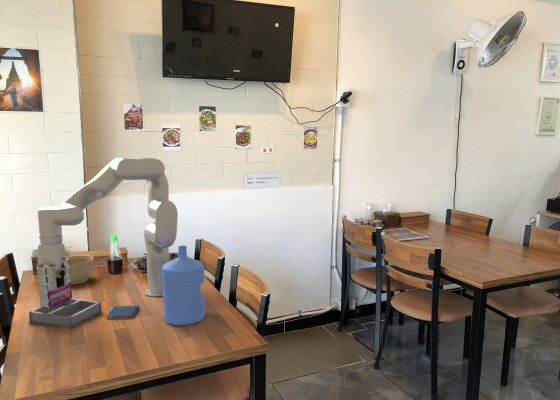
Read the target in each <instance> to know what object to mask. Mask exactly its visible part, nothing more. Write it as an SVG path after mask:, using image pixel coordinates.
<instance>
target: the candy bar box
mask: <svg viewBox="0 0 560 400" xmlns="http://www.w3.org/2000/svg"><path fill="white" fill-rule="evenodd" d="M67 264H68V266H69V259H67ZM60 273H61V270H60ZM36 274H37V275H36V276H37V286H38V295H39V307H44V308H52V307H54V306H56V305H58V304H61V303H63V302H65V301H67V300H69V299H71V298H73V291H72V285H71V279H70V270H69V271H68V272H67V273H66V274H65V276H64V282H65V285H64V286H62V287H60V288H57V282H56V278H57V274H56V271H53V270H52V265H50V264H40V265H38V264H36Z"/></svg>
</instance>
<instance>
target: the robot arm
mask: <svg viewBox="0 0 560 400" xmlns="http://www.w3.org/2000/svg"><path fill="white" fill-rule="evenodd" d="M165 170H166V167H165V164H164V162H163V161H162V160H160V159H158V158H154V157H142V158H124V157H117V158H115V159H113V160H111V161H110V162H109V163H108V164H107V165H106V166H105V167H104V168H103V169H102V170H101V171H99V173H98V174H96V175H95V176H94V178H92V179H91V180H90V181H88V182H87V183H86V184H84V185H83V186H82V187H81V188H79V189H78V190H76V191H75V192H74V193H72V194H71V196H69V197H68V198H67V199H66V200H65V201H64V202H63V203H62V204H61V205H60V206H59V207H57V206H48V207H47V206H45V207H42V208H39V209H38V211H37V220H38V233H39V237H38V239H39V243H38V247H37V265H40V264H50V265H52V270H53V271H56V274H57V278H56V282H57V288H60V287H62V286H64V285H65V282H64V276H65V274H66V273H67V272H68V271H69V270H70V267H69V266H68V264H67V257H68V256H67V251H66V247H65V244H64V240H63V227H62V226H71V227H72V226H74V227H75V226H78V225H79V224H82V222H83V221H84V219H85V213H84V211H85V209H86V208H88V206H90V205H92V204H93V203H95V202H96V201H99V200H103V199H104V198H106V197H108V196H110V194H111V193H112V192H113V191H114V190H115V189H116V188H117V187H118V186H119V185H120V184H122V183H123V181H124V180H125V181H142V180H143V181H146V184H147V188H148V191H147V192H148V195H147V214H148V216H149V217H150V218H152V219H154V220H155V221H154V222H150V223H149V224H148V225H146V227H145V229H144V232H143V238H144V244H145V248H146V249H145V250H146V269H147V288H146V289H144V294H145V295H146V296H148V297H156V298H157V297H163V278H162V266H163V265H164V264H166V263H168V262H170V250H169V249H170V247H172V246H173V245H174V244H175V242H176V241H177V240H176V239H177V234H178V209H177V206H176V204H175V203H174V202H173V201H171V200H169V199H170V198H169V197H170V195H169V194H170V193H169V192H170V190H169V188H170V187H169V181H168V178H167V175H166V174H165V172H166V171H165ZM60 270H61V273H60Z"/></svg>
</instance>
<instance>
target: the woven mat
mask: <svg viewBox="0 0 560 400" xmlns="http://www.w3.org/2000/svg"><path fill="white" fill-rule="evenodd" d="M139 310H140V305H139V304H138V305H121V306H120V305H119V306H118V305H115V306H113V307H112V309H111V310H110V311H109V313H108V314H107V315H106V316H105V318H106V320H107V321H108V320H124V319H126V320H129V319H134V318H135V317H136V314H137V313H138V311H139Z"/></svg>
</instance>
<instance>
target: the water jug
mask: <svg viewBox="0 0 560 400" xmlns="http://www.w3.org/2000/svg"><path fill="white" fill-rule="evenodd" d="M187 247H188V246H187V245H179V246H178V247H177V249H178V251H177V252H178V253H177V254H178V256H177V257H176V258H174V259H172V260H169V262H168V263H166V264H164V265H163V266H162V278H163V296H162V299H163V301H162V302H163V320H164V321H165V322H166V323H167V324H170V325H173V326H189V325H193V324H196V323H199V322H200V321H202V320H204V319H205V316H206V301H205V300H206V299H205V296H204V295H202V293H201V286H202V284H204V283H205V266H204V263H203V262H202V261H200V260H197V259H194V258H191V257H189V256H188V250H187Z"/></svg>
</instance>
